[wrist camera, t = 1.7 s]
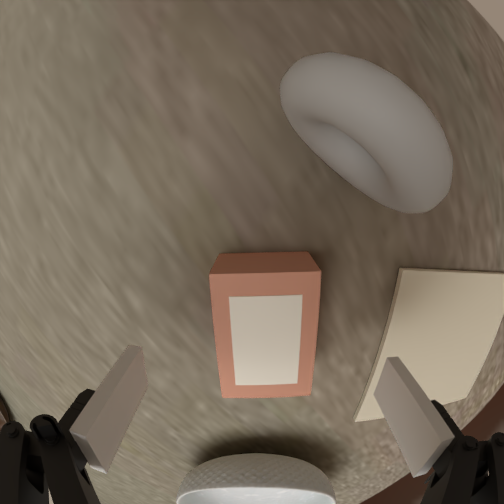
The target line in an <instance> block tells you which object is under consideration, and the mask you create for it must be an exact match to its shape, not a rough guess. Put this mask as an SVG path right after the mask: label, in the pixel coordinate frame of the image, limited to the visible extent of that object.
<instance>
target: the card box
mask: <svg viewBox="0 0 504 504" xmlns="http://www.w3.org/2000/svg"><path fill="white" fill-rule="evenodd" d="M209 281H210V292H211V303H212V314H213V324H214V334H215V343H216V352H217V360H218V368H219V377H220V384H221V392H222V398H272V397H293V396H306V395H311V387H312V379H313V370H314V361H315V352H316V341H317V330H318V317H319V303H320V287H321V270H320V269H319V267H318V266H317V264H316V263H315V261H314V260H313V258H312V257H311V256H310V254H309V253H308V251H301V252H262V253H223V254H219V255H218V257H217V259H216V261H215V263H214V265H213V267H212V269H211V271H210V273H209Z"/></svg>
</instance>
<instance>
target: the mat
mask: <svg viewBox="0 0 504 504" xmlns="http://www.w3.org/2000/svg"><path fill="white" fill-rule="evenodd" d="M503 314H504V273H501V272H479V271H458V270H438V269H419V268H400V267H399V272H398V277H397V282H396V287H395V291H394V295H393V300H392V304H391V308H390V312H389V315H388V319H387V323H386V327H385V330H384V334H383V337H382V340H381V344H380V347H379V350H378V353H377V356H376V359H375V362H374V365H373V368H372V371H371V374H370V377H369V379H368V382H367V385H366V387H365V390H364V393H363V395H362V398H361V400H360V403H359V405H358V408H357V410H356V412H355V415H354V417H353V419H354V422H358V421H366V420H373V419H379V418H385V417H384V415H383V413H382V411H381V409H380V407H379V405H378V403H377V401H376V399H375V397H374V395H373V394H374V391H375V389H376V386H377V384H378V381H379V378H380V375H381V373H382V370H383V367H384V364H385V361H386V358H387V357H397V356H398V357H399V358H400V360H401V361H402V362H403V364H404V365H405V366H406V368H407V369H408V370H409V372H410V373H411V374H412V376H413V377H414V379H415V380H416V381H417V383H418V384H419V385H420V387H421V388H422V390H423V391H424V392H425V394H426V395H427V397H428V398H429V399H430V401H431V400H436V401H437V402H439V403H440V404H442V405H444V404H448V403H451V402H454V401H458V400H461V399H464V398H466V397H467V395H468V393H469V391H470V390H471V388H472V386H473V384H474V382H475V380H476V378H477V376H478V374H479V372H480V370H481V368H482V366H483V364H484V362H485V360H486V357H487V355H488V353H489V351H490V348H491V346H492V344H493V341H494V339H495V336H496V334H497V331H498V328H499V326H500V323H501V320H502V317H503Z"/></svg>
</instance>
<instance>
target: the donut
mask: <svg viewBox="0 0 504 504" xmlns="http://www.w3.org/2000/svg"><path fill="white" fill-rule="evenodd" d="M280 99H281V107H282V109H283V111H284V113H285V115H286V117H287V119H288V121H289V122H290V124H291V126H292V127H293V129H294V130H295V131H296V132H297V134H298V135H299V136H300V138H301V139H302V140H303V141H304V142H305V143H306V144H307V145H308V146H309V147H310V149H311V150H312V151H313V152H314V153H316V154H317V155H318V156H319V157H320V158H321V159H322V160H323V161H324V162H325V163H326V164H327V165H328V166H329V167H331V168H332V169H333V170H334V171H335V172H336V173H338V174H339V175H340V176H341V177H342V178H344V179H345V180H346V181H348V182H349V183H350V184H351V185H353V186H354V187H355V188H357V189H358V190H359V191H361V192H362V193H364V194H365V195H367V196H368V197H370V198H371V199H373V200H375V201H377V202H378V203H380V204H382V205H384V206H386V207H388V208H391V209H394V210H396V211H399V212H402V213H425V212H427V211H430V210H432V209H433V208H434V207H435V206H436V205H438V204H439V203H440V202H441V201H442V200H443V199H444V198H445V197H446V196H447V194H448V192H449V189H450V187H451V181H452V171H453V157H452V154H451V151H450V148H449V145H448V142H447V139H446V136H445V134H444V131H443V129H442V127H441V125H440V123H439V122H438V120H437V119H436V117H435V116H434V115H433V113H432V112H431V110H430V109H429V108H428V106H427V105H426V103H425V102H424V101H423V99H422V98H420V97H419V96H418V95H417V94H416V93H415V92H414V91H413V90H412V89H411V88H409V87H408V86H407V85H406V84H405V83H404V82H403V81H401V80H400V79H399V78H398V77H397V76H395V75H394V74H392V73H390V72H388V71H387V70H385V69H383V68H381V67H379V66H377V65H375V64H373V63H371V62H370V61H368V60H365V59H361V58H357V57H353V56H349V55H344V54H340V53H335V52H327V53H321V54H315V55H310V56H305V57H302V58H301V59H299V60H298V61H296V62H295V63H294V64H293V65H292V66H291V67H290V69H289V70H288V71H287V72H286V74H285V75H284V76H283V78H282V80H281V84H280Z"/></svg>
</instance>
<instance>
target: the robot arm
mask: <svg viewBox="0 0 504 504" xmlns="http://www.w3.org/2000/svg"><path fill="white" fill-rule="evenodd" d="M147 388H148V380H147V375H146V369H145V363H144V357H143V350H142V347H140V346H134V345H128V347H127V348H126V349H125V351H124V352H123V354H122V355H121V356H120V358H119V359H118V360H117V362H116V363H115V365H114V366H113V367H112V369H111V370H110V371H109V373H108V374H107V376H106V377H105V378H104V380H103V381H102V383H101V384H100V386H99V387H98V388H97V390H96V391H94V390H90V389H86V390H85V391H83V392H82V393H80V394H79V395H78V396H77V398H76V399H75V401H74V402H73V403H72V405H71V406H70V408H69V409H68V410H67V411H66V413H65V414H64V416H63V417H62V418H61V420H60V421H59V423H58V422H57V420H56V419H55V418H54V417H53V416H50V415H47V414H42V415H39V416H36V417H35V418H34V419H33V420H32V421H31V423H30V429H31V430H32V432H30V431H25V429H24V428H23V426H22V425H21V424H20V423H19V422H16V421H9V422H7V423H5V424H4V425H3V426H2V428H1V431H0V504H49V493H48V492H49V491H48V487H49V490H50V494H51V497H52V500H53V503H54V504H101V503H100V501H99V499H98V497H97V495H96V493H95V490H94V488H93V486H92V483H91V481H90V478H89V476H88V473H87V471H86V469H85V465H86V463H87V462H88V463H89V465H90V466H91V468H93V469H95V470H98V471H101V472H104V473H106V474H107V472H108V470H109V468H110V465H111V463H112V461H113V459H114V457H115V454H116V452H117V450H118V448H119V446H120V444H121V442H122V439H123V437H124V435H125V433H126V431H127V429H128V427H129V425H130V423H131V420H132V418H133V416H134V414H135V412H136V410H137V408H138V406H139V404H140V402H141V400H142V398H143V396H144V394H145V392H146V390H147ZM373 395H374V397H375V399H376V401H377V403H378V405H379V407H380V409H381V411H382V413H383V415H384V417H385V419H386V421H387V423H388V425H389V427H390V429H391V431H392V433H393V435H394V437H395V439H396V441H397V443H398V446H399V448H400V450H401V452H402V454H403V456H404V458H405V461H406V463H407V465H408V467H409V469H410V472H411V473H412V476H413V477H417V476H420V475H423V474H425V473H427V472H428V470H429V469H430V468H431V467H432V466H433V468H434V470H435V471H434V472H433V473H432V474H431V475H430V476H429V477H428V478H427V480H426V481H425V483H427V482H428V481H429V480H430V481H429V483H428V486H427V489H426V492H425V494H424V496H423V499H422V501H421V504H504V433H501V432H498V433H495V434H493V435H492V437H491V438H490V439H489V440H488V441H479V442H478V441H477V439H475V438H474V437H471V436H464V435H463V434H462V432H461V431H460V429H459V428H458V427H457V425H456V424H455V422H454V421H453V419H452V418H450V415H449V414H448V413H447V411H446V410H445V408H444V407H443V405H442V404H440V403H439V402H437V401H436V400H431V401H430V399H429V398H428V397H427V395H426V394H425V392H424V391H423V390H422V388H421V387H420V385H419V384H418V383H417V381H416V380H415V379H414V377H413V376H412V374H411V373H410V372H409V370H408V369H407V368H406V366H405V365H404V364H403V362H402V361H401V360H400V358H399V357H398V356H397V357H387V358H386V361H385V364H384V367H383V370H382V373H381V375H380V378H379V381H378V384H377V386H376V389H375V391H374V394H373ZM488 471H489V476H488Z"/></svg>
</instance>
